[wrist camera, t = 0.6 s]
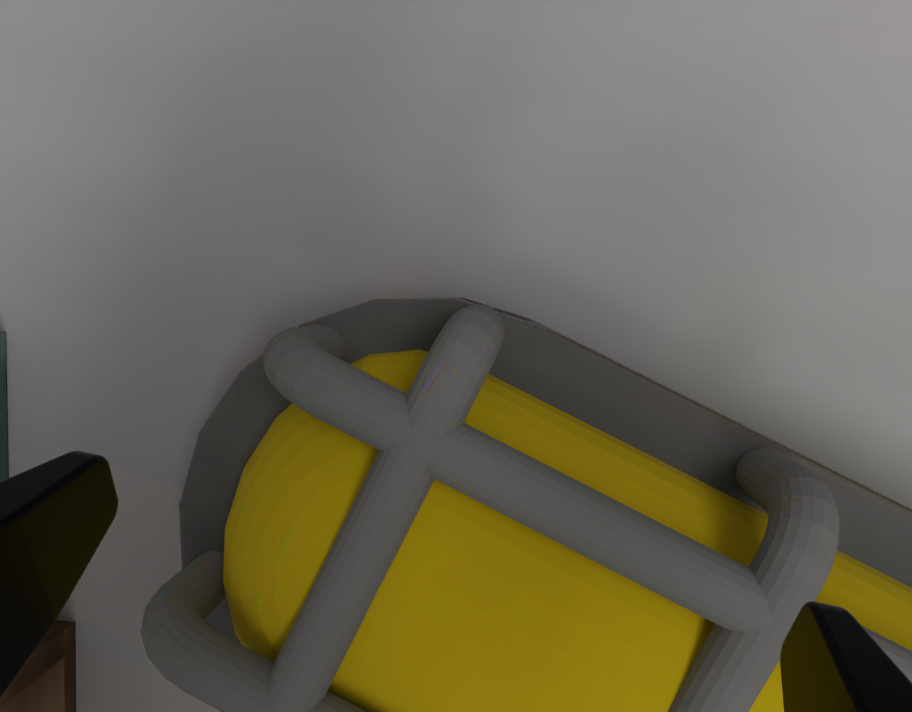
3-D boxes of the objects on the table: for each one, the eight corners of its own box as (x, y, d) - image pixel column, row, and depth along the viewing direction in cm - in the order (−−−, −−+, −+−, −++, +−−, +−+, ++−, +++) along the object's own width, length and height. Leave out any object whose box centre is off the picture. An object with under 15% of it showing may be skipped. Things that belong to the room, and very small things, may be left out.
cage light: (238, 181, 15) (1553, 839, 13) (336, 222, 23) (1169, 638, 21) (-3, 729, 16) (1141, 1359, 15) (166, 589, 24) (927, 995, 23)
